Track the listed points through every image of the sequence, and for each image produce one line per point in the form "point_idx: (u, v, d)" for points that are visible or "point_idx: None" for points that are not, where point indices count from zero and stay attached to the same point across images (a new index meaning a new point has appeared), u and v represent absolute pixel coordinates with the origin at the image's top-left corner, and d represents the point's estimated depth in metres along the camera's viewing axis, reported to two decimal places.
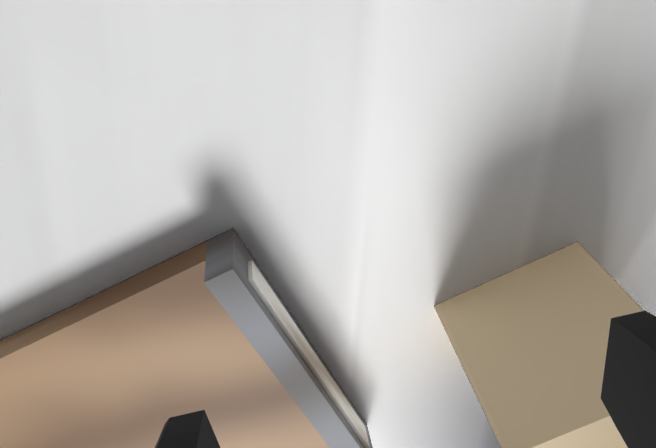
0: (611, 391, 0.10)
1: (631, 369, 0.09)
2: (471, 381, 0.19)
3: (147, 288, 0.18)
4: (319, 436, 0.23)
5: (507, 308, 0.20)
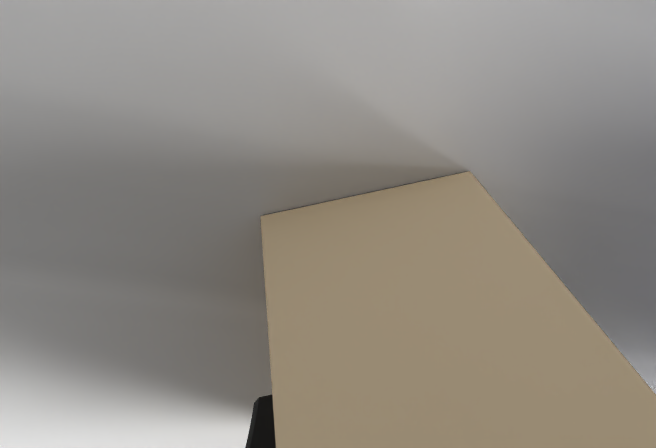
0: None
1: None
2: None
3: None
4: None
5: None
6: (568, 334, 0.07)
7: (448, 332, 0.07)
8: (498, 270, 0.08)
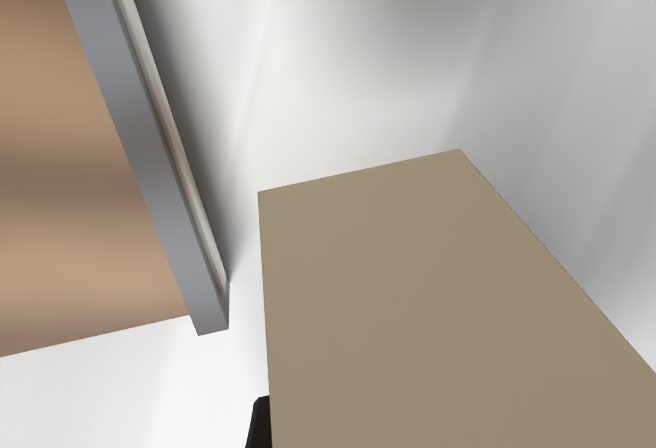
0: None
1: None
2: None
3: None
4: (163, 266, 0.18)
5: None
6: (546, 289, 0.07)
7: (433, 288, 0.07)
8: (482, 235, 0.08)
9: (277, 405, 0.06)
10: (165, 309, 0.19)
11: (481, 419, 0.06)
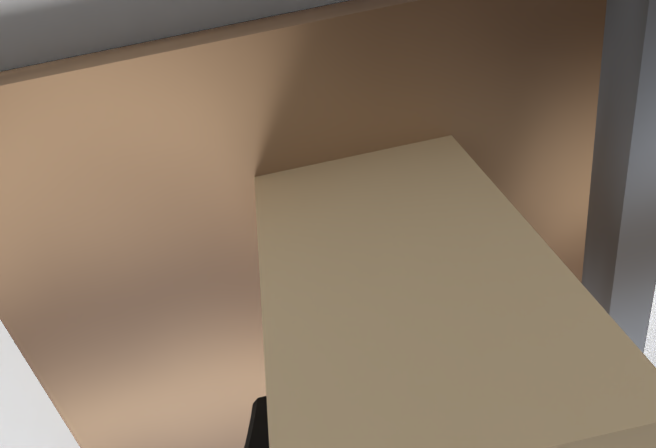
0: None
1: None
2: None
3: None
4: None
5: None
6: (531, 265, 0.07)
7: (422, 266, 0.08)
8: (472, 215, 0.09)
9: (272, 374, 0.06)
10: None
11: (465, 384, 0.06)
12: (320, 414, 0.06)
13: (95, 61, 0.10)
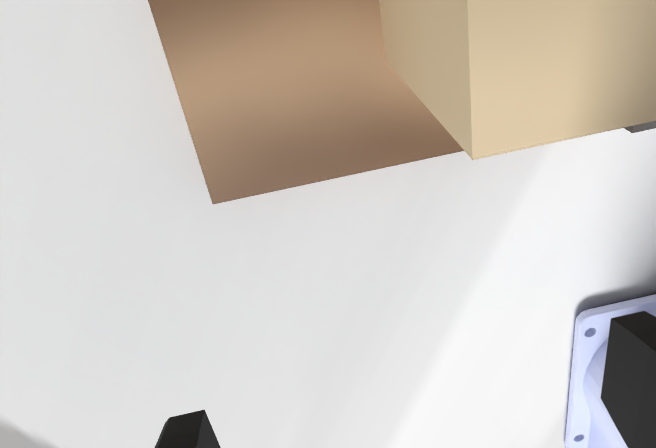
0: (611, 391, 0.10)
1: (631, 369, 0.09)
2: (426, 104, 0.13)
3: None
4: None
5: None
6: None
7: None
8: None
9: None
10: None
11: None
12: None
13: None
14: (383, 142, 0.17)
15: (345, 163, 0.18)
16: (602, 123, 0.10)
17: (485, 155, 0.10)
